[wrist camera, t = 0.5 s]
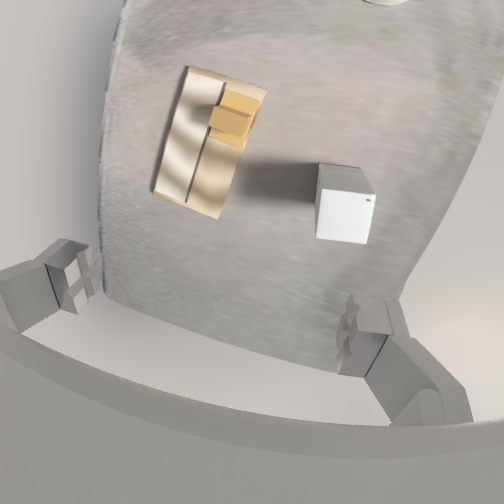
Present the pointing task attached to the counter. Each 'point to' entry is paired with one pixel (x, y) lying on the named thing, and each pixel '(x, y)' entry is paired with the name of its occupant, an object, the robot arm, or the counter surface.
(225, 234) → the counter surface
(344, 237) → the supplement box
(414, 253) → the counter surface
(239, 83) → the board
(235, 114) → the stepped wooden block
